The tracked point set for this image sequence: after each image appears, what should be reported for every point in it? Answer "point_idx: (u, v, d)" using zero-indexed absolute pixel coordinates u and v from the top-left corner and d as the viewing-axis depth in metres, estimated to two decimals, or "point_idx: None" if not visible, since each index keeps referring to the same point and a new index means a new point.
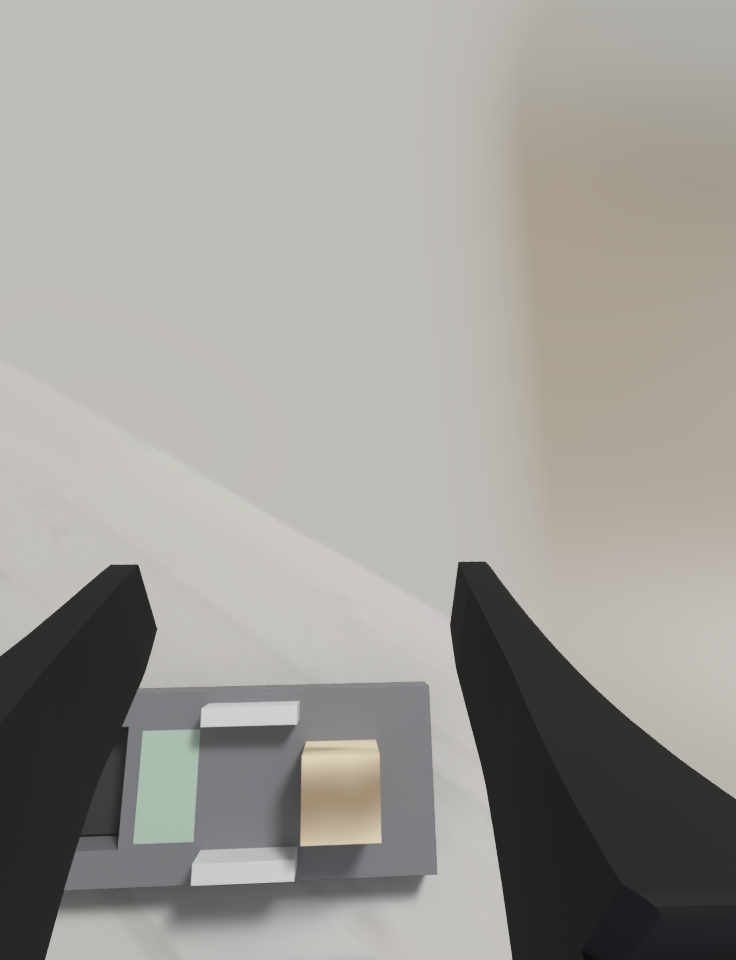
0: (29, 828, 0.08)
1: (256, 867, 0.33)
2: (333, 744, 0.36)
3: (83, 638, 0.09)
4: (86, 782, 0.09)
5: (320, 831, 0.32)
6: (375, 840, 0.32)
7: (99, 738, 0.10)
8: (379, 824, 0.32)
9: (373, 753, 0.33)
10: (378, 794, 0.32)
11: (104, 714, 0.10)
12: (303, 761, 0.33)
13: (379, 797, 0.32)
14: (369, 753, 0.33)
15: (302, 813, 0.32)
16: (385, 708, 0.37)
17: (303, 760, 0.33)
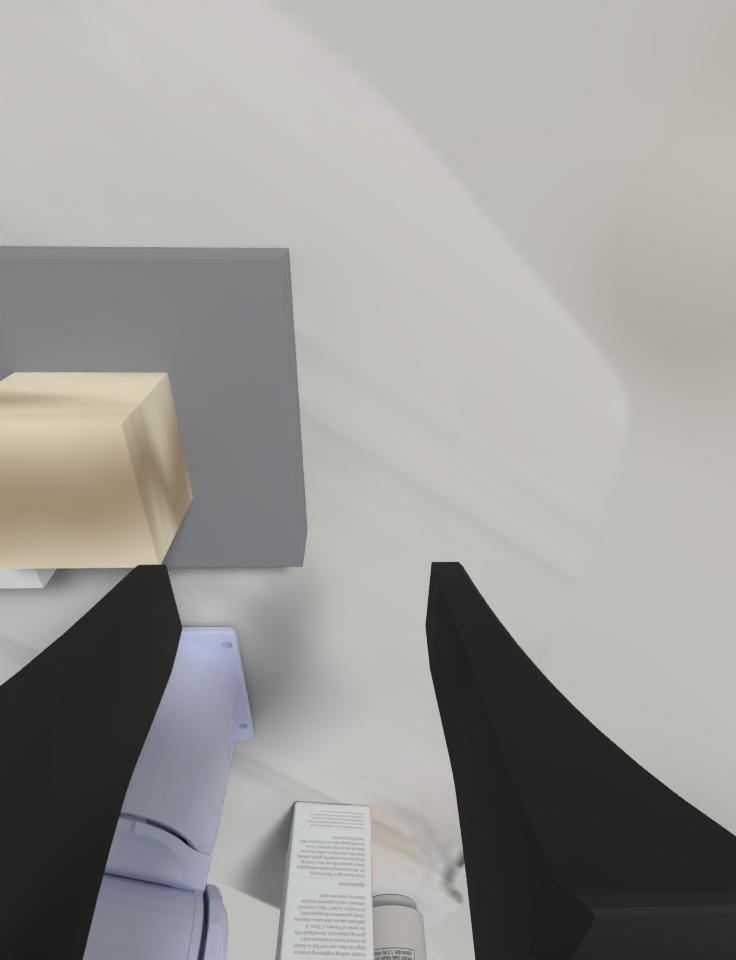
0: (69, 827, 0.08)
1: None
2: (59, 384, 0.16)
3: (117, 638, 0.09)
4: (119, 781, 0.09)
5: (30, 549, 0.16)
6: (146, 563, 0.16)
7: (130, 737, 0.10)
8: (148, 542, 0.16)
9: (109, 421, 0.14)
10: (136, 497, 0.15)
11: (135, 714, 0.10)
12: None
13: (139, 501, 0.15)
14: (99, 421, 0.14)
15: None
16: (178, 310, 0.16)
17: None
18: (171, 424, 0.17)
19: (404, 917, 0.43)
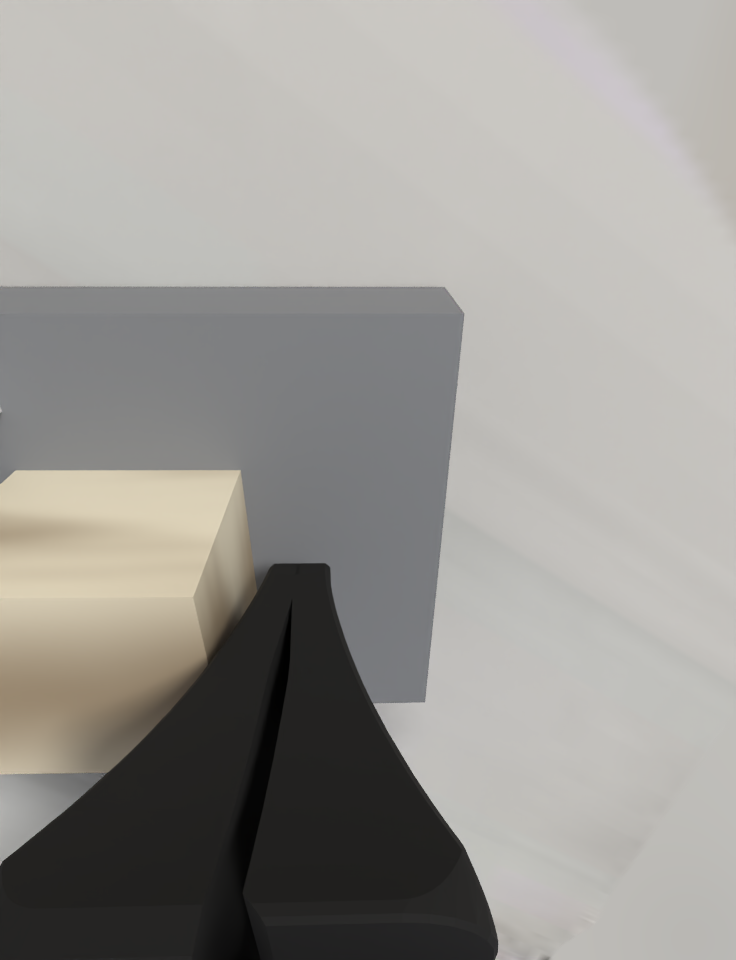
0: None
1: None
2: (83, 497, 0.11)
3: (283, 636, 0.09)
4: None
5: (39, 752, 0.10)
6: None
7: None
8: None
9: (172, 589, 0.08)
10: None
11: None
12: None
13: None
14: (156, 588, 0.08)
15: None
16: (298, 386, 0.11)
17: None
18: (244, 543, 0.12)
19: None
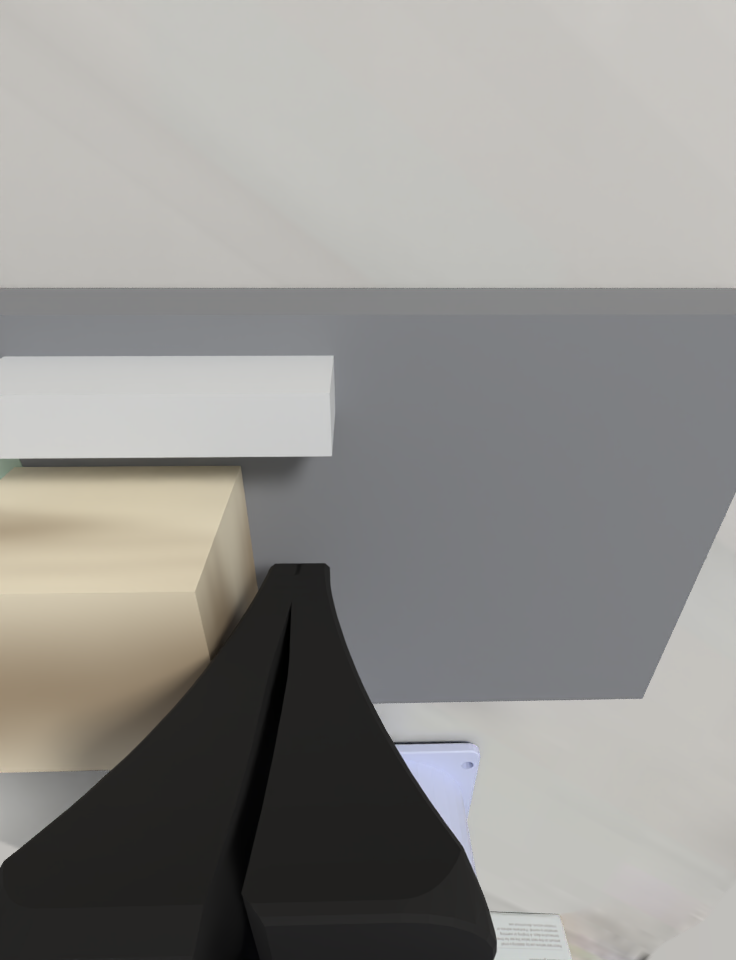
0: None
1: None
2: (83, 493, 0.11)
3: (283, 636, 0.09)
4: None
5: (40, 750, 0.10)
6: None
7: None
8: None
9: (173, 583, 0.08)
10: None
11: None
12: None
13: None
14: (157, 583, 0.08)
15: None
16: (630, 386, 0.11)
17: None
18: (244, 539, 0.12)
19: None
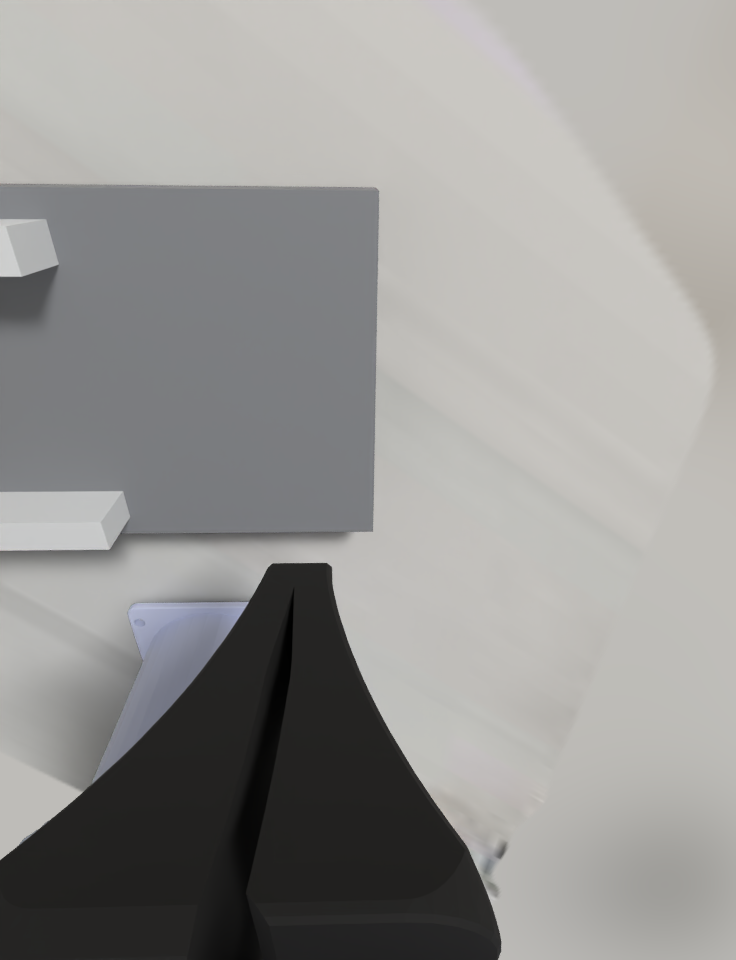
0: None
1: (32, 530, 0.18)
2: None
3: (280, 636, 0.09)
4: None
5: None
6: None
7: None
8: None
9: None
10: None
11: None
12: None
13: None
14: None
15: None
16: (267, 246, 0.15)
17: None
18: None
19: None
